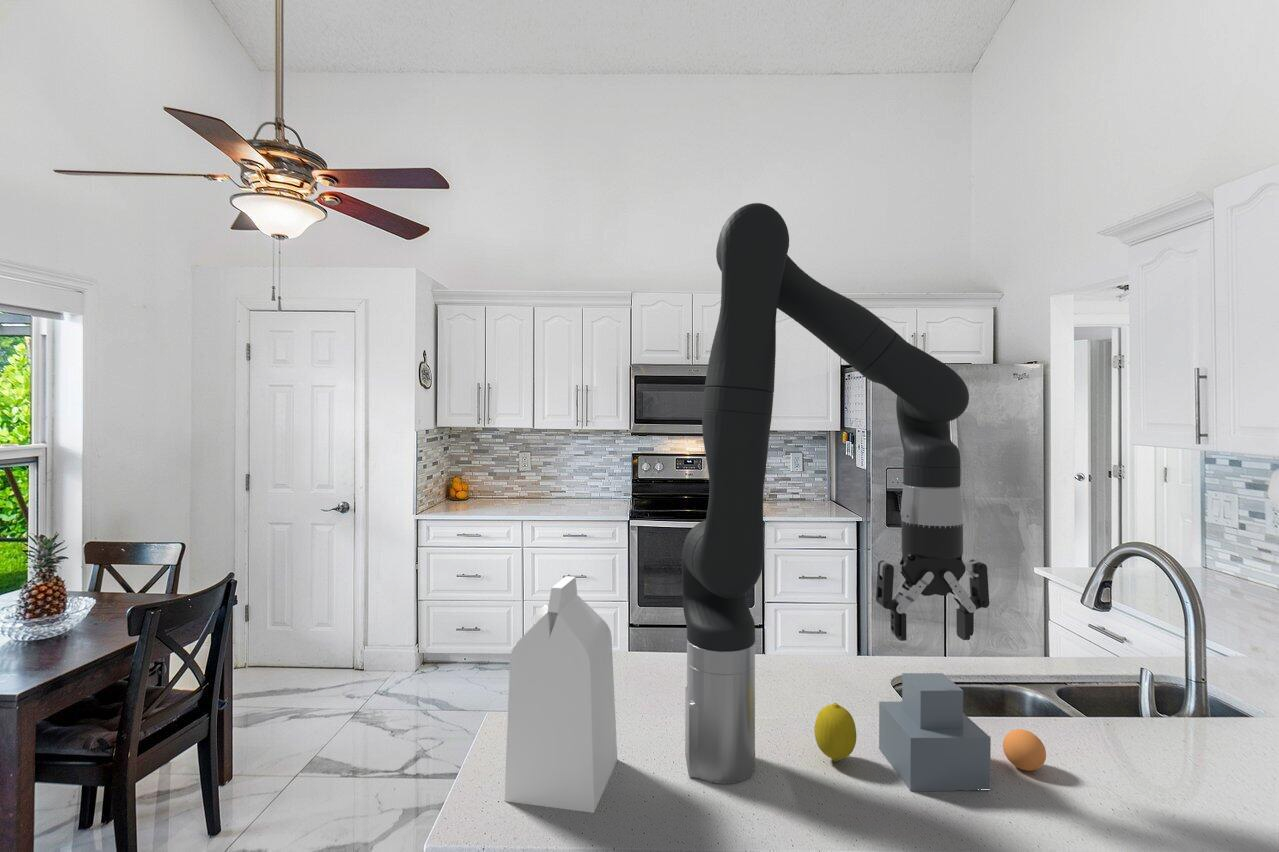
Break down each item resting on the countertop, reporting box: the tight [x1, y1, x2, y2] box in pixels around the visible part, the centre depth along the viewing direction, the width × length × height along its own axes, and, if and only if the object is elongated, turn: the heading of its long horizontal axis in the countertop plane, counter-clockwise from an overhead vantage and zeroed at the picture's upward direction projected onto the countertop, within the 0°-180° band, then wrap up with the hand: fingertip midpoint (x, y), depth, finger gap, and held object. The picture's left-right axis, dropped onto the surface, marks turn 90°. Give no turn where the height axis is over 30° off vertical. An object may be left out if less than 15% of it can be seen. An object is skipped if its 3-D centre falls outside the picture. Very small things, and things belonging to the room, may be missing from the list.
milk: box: [503, 575, 618, 814], centre depth 82 cm, size 12×12×26 cm
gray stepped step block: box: [878, 672, 992, 792], centre depth 85 cm, size 10×10×12 cm
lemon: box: [814, 702, 857, 763], centre depth 87 cm, size 6×6×8 cm
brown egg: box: [1002, 728, 1047, 772], centre depth 85 cm, size 5×5×5 cm
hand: (932, 638), depth 85 cm, fingers open, 8 cm apart
